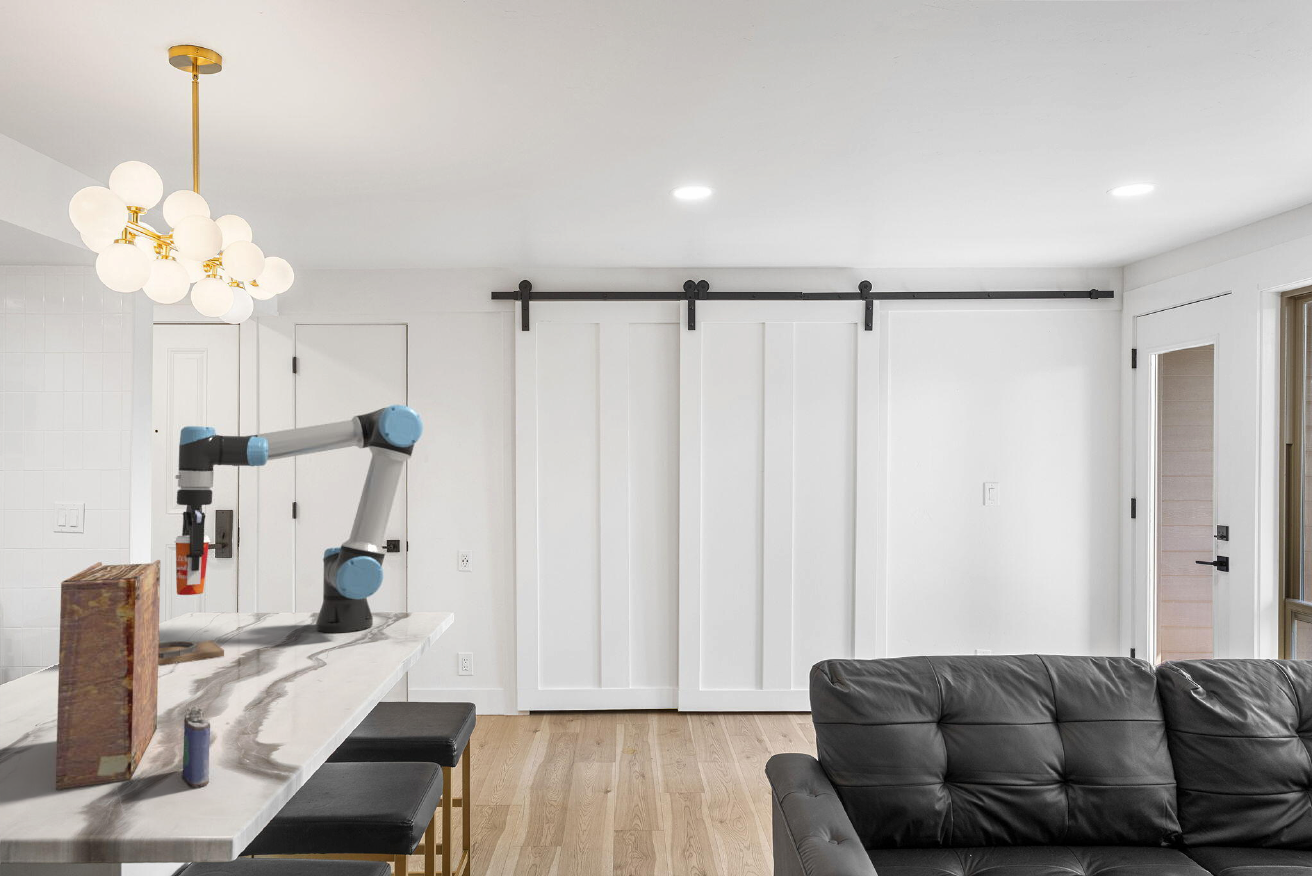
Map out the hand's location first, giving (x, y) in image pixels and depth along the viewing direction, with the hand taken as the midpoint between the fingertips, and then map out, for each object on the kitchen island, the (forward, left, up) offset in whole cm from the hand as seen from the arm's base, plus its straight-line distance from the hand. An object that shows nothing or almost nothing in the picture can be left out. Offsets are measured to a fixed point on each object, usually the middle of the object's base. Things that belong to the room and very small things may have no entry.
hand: (190, 582), depth 191 cm
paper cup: (0, 0, -3) cm, 3 cm away
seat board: (+5, 0, -18) cm, 19 cm away
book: (+22, +67, -18) cm, 73 cm away
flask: (+14, +86, -18) cm, 89 cm away
